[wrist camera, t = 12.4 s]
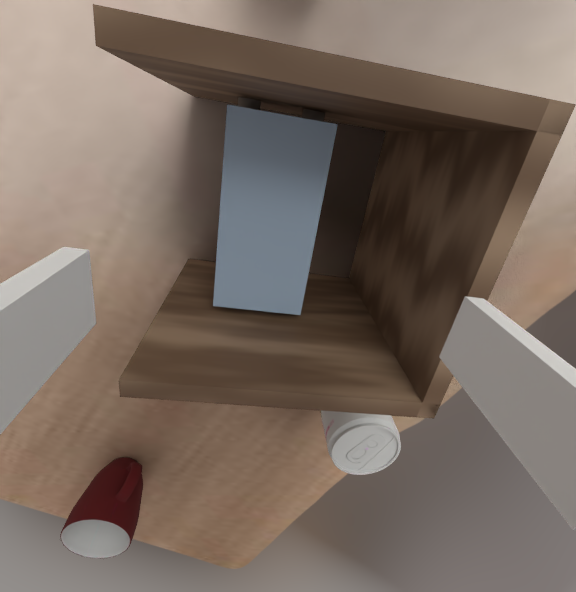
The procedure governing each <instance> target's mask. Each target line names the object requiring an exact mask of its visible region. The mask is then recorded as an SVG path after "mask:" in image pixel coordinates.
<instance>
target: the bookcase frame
mask: <svg viewBox="0 0 576 592" xmlns="http://www.w3.org/2000/svg"><path fill="white" fill-rule="evenodd" d="M93 11H94V26H95V40H96V46H98V47H100V48H102V49H103V50H105V51H107V52H109V53H111V54H113V55H115V56H117V57H119V58H121V59H123V60H125V61H127V62H129V63H131V64H132V65H134V66H136V67H138V68H140V69H142V70H144V71H146V72H148V73H150V74H152V75H154V76H156V77H158V78H160V79H162V80H163V81H165V82H167V83H169V84H171V85H173V86H175V87H177V88H179V89H181V90H183V91H185V92H187V93H189V94H191V95H192V96H194V97H200V98H205V99H211V100H216V101H222V102H227V103H233V104H238V105H237V106H239V107H244V108H250V109H255V110H260V109H266V110H271V111H277V112H282V113H288V114H293V115H299V116H302V118H305V119H311V120H316V121H322V122H324V120H326V121H332V122H337V123H343V124H348V125H354V126H359V127H365V128H370V129H376V130H381V131H386V133H385V137H384V141H383V145H382V149H381V153H380V157H379V161H378V165H377V169H376V173H375V177H374V181H373V185H372V188H371V192H370V196H369V200H368V204H367V208H366V212H365V216H364V220H363V224H362V228H361V232H360V236H359V240H358V244H357V248H356V252H355V256H354V260H353V264H352V268H351V272H350V276H349V278H343V277H334V276H326V275H318V274H310V273H309V274H308V279H307V284H306V289H305V294H304V299H303V304H302V310H301V315H294V314H284V313H275V312H265V311H256V310H246V309H237V308H227V307H218V306H213V298H214V284H215V270H216V262H211V261H203V260H195V259H188V261H187V263H186V265H185V266H184V268H183V270H182V272H181V273H180V275H179V277H178V278H177V280H176V282H175V284H174V285H173V287H172V289H171V291H170V292H169V294H168V296H167V298H166V299H165V301H164V303H163V304H162V306H161V308H160V310H159V311H158V313H157V315H156V317H155V318H154V320H153V322H152V323H151V325H150V327H149V329H148V330H147V332H146V334H145V336H144V337H143V339H142V341H141V343H140V344H139V346H138V348H137V349H136V351H135V353H134V355H133V356H132V358H131V360H130V362H129V363H128V365H127V367H126V368H125V370H124V372H123V374H122V375H121V377H120V379H119V389H120V397H132V398H147V399H161V400H176V401H190V402H204V403H219V404H233V405H248V406H262V407H277V408H291V409H305V410H320V411H334V412H349V413H363V414H377V415H392V416H406V417H421V418H434V417H435V415H436V413H437V411H438V408H439V406H440V404H441V402H442V400H443V397H444V395H445V393H446V391H447V388H448V386H449V384H450V382H451V380H452V377H453V374H452V373H451V372H450V370H449V369H448V368H447V367H446V365H445V364H444V363H443V361H442V360H441V359H440V357H439V356H440V354H441V351H442V349H443V347H444V344H445V342H446V340H447V337H448V335H449V333H450V330H451V328H452V326H453V323H454V321H455V318H456V316H457V314H458V311H459V309H460V307H461V304H462V302H463V300H464V297H465V296H467V297H475V298H483V299H485V300H486V301H487V300H488V298H489V295H490V293H491V291H492V289H493V287H494V284H495V282H496V280H497V278H498V276H499V273H500V271H501V269H502V267H503V265H504V262H505V260H506V258H507V256H508V253H509V251H510V249H511V247H512V245H513V242H514V240H515V238H516V236H517V234H518V231H519V229H520V227H521V225H522V222H523V220H524V218H525V216H526V214H527V211H528V209H529V207H530V205H531V203H532V200H533V198H534V196H535V194H536V191H537V189H538V187H539V185H540V183H541V180H542V178H543V176H544V174H545V172H546V169H547V167H548V165H549V163H550V160H551V158H552V156H553V154H554V152H555V149H556V147H557V145H558V143H559V141H560V138H561V136H562V134H563V132H564V129H565V127H566V125H567V123H568V121H569V118H570V116H571V114H572V112H573V110H574V107H575V104H570V103H565V102H561V101H556V100H551V99H546V98H541V97H537V96H532V95H527V94H522V93H517V92H513V91H508V90H503V89H498V88H493V87H489V86H484V85H479V84H474V83H469V82H465V81H460V80H455V79H450V78H445V77H441V76H436V75H431V74H426V73H421V72H416V71H412V70H407V69H402V68H397V67H392V66H388V65H383V64H378V63H373V62H368V61H364V60H359V59H354V58H349V57H344V56H340V55H335V54H330V53H325V52H320V51H316V50H311V49H306V48H301V47H296V46H292V45H287V44H282V43H277V42H272V41H268V40H263V39H258V38H253V37H248V36H243V35H239V34H234V33H229V32H224V31H219V30H215V29H210V28H205V27H200V26H195V25H191V24H186V23H181V22H176V21H171V20H167V19H162V18H157V17H152V16H147V15H143V14H138V13H133V12H128V11H123V10H119V9H114V8H109V7H104V6H99V5H94V4H93Z"/></svg>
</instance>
